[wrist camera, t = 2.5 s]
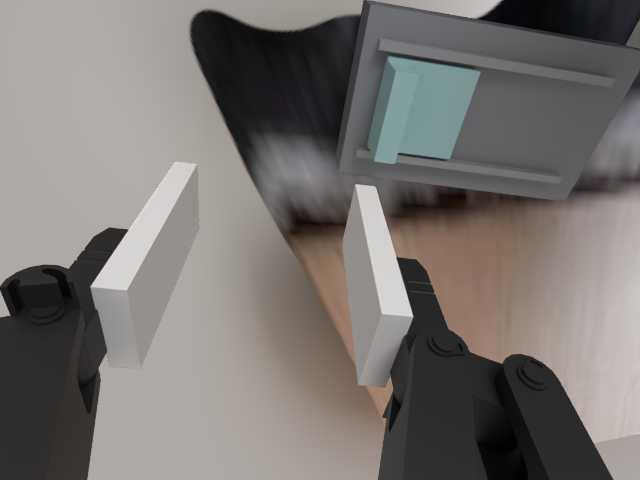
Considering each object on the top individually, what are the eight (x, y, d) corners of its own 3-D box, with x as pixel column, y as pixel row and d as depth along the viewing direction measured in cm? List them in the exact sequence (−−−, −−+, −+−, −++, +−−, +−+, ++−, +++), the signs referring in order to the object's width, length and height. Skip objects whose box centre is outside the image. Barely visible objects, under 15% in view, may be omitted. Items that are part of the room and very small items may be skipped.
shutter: (387, 54, 27) (397, 66, 24) (476, 69, 28) (497, 82, 25) (366, 144, 31) (373, 164, 28) (446, 155, 32) (461, 176, 28)
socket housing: (363, -1, 29) (372, 5, 25) (614, 43, 31) (658, 54, 27) (335, 153, 36) (339, 176, 32) (542, 180, 38) (569, 206, 34)
